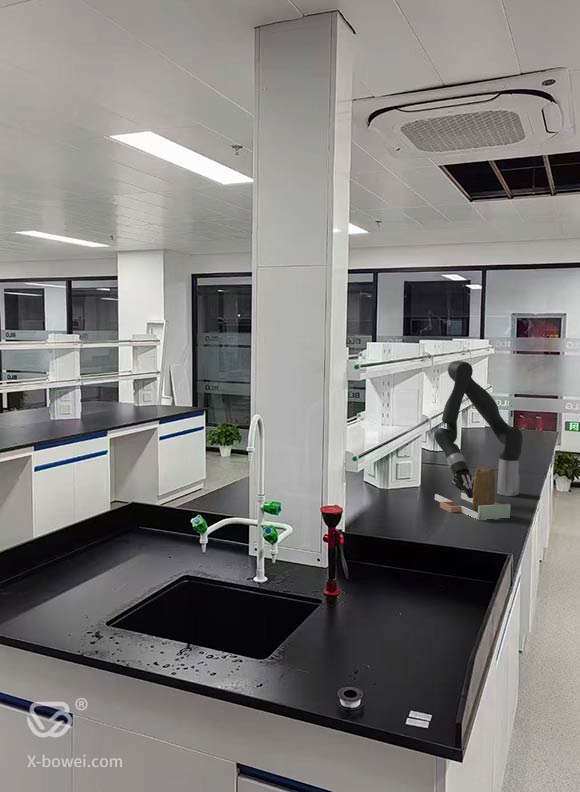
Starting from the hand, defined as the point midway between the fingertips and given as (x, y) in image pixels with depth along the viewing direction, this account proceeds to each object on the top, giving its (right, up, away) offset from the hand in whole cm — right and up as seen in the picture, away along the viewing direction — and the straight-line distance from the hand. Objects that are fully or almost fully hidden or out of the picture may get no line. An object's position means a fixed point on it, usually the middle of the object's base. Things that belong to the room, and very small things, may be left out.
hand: (471, 497), depth 297 cm
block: (+3, -6, -7) cm, 10 cm away
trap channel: (-1, -5, +1) cm, 5 cm away
